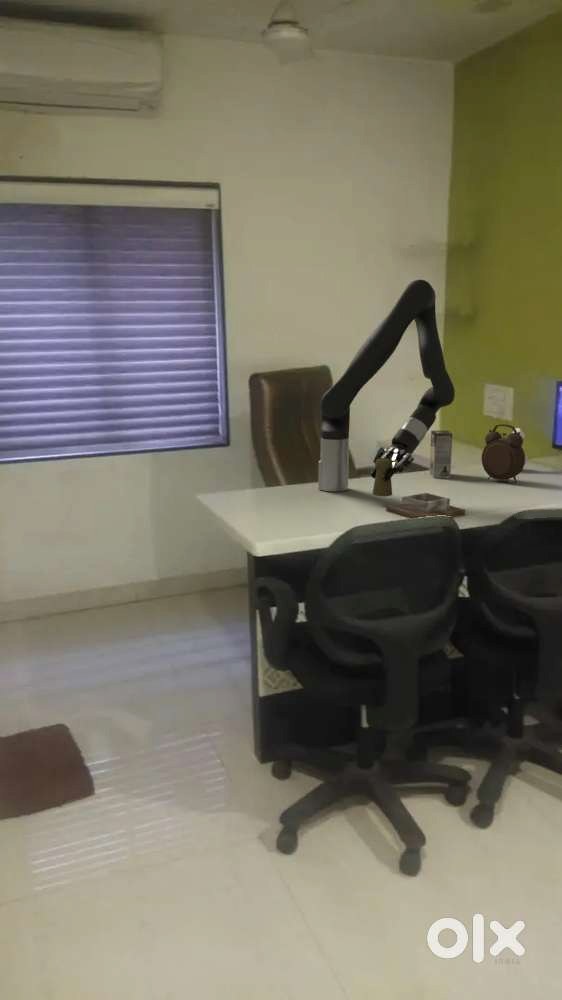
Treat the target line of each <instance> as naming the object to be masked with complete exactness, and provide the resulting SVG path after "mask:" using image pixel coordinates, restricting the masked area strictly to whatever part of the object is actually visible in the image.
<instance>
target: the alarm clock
mask: <svg viewBox="0 0 562 1000" xmlns="http://www.w3.org/2000/svg"><path fill="white" fill-rule="evenodd" d="M499 427H507V428H510V429H512V430H513V431H514V433H512V432H513V431H512V432H510V433H509V434H508V435H507V433H506V432H505V433H504V432H502V433H500V432H499V431H496V430H497V429H498V428H499ZM515 428H516V427H514V426H513V425H510V424H503V423H501V424H496V425H495V426H494V427H493V429H489V430H488V433H487V434H486V435H485V437H484V442H485V444H486V445H485V446H484V448H483V450H482V453H481V464H482V468H483V470H484V471H485V473H486V474H487V475H488V478H487V480H490V479H491V478H492V479H493V480H497V481H501V480H502V481H503V480H506V481H507V483H508V484H509V483H510V481H509V479H513V480H514V482H515V483H518V481H517V479H516V478H517V477H516V476H518V475H519V474H521V473H522V471H523V469H524V467H525V465H526V464H525V455H526V454H525V451H524V449H523V443H524V439H523V438H522V436H521V435H519V434H520V432H518V433H517V431H516V429H515Z"/></svg>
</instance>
